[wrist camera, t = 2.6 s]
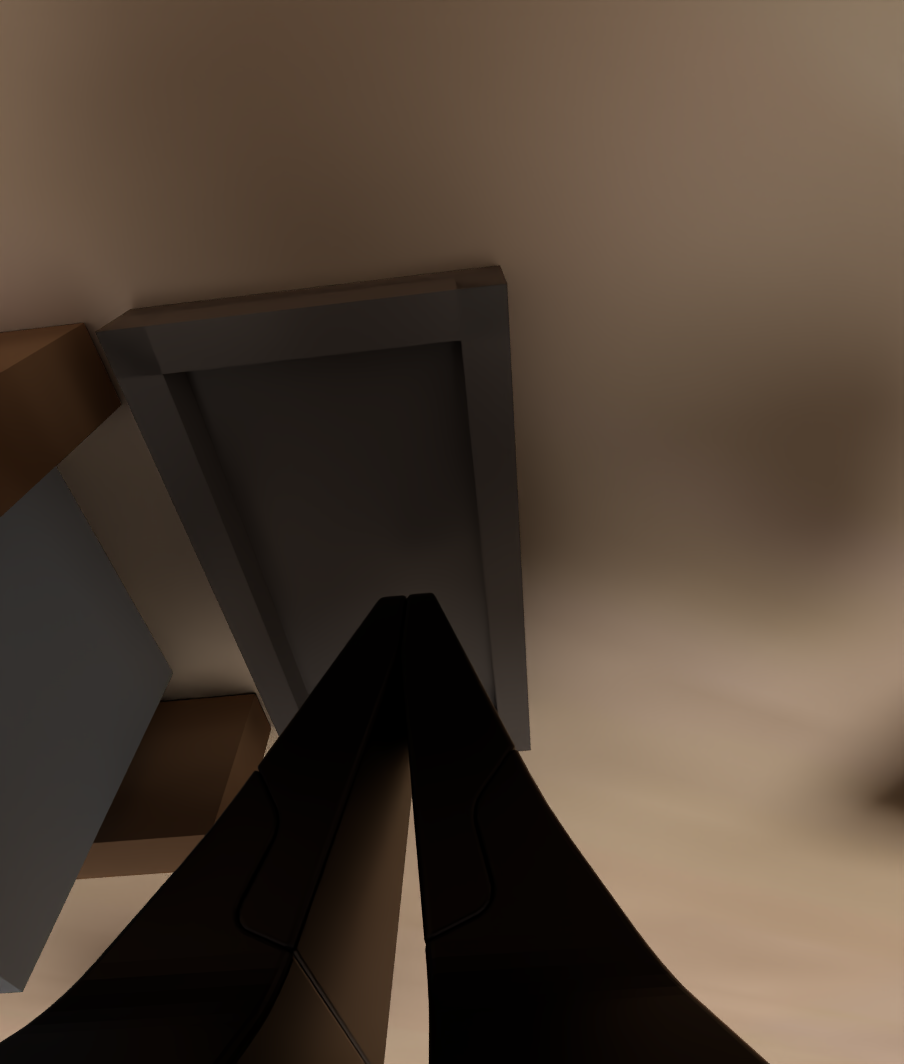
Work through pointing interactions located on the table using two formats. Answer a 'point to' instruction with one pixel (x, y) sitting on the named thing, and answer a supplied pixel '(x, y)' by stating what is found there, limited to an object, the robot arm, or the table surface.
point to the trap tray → (341, 465)
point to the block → (61, 709)
